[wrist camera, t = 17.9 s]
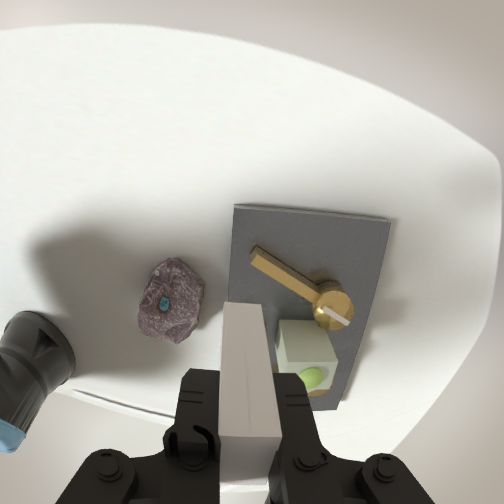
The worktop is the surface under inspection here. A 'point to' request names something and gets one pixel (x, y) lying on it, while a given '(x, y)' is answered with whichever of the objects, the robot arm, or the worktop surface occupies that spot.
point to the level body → (306, 353)
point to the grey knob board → (309, 273)
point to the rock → (171, 302)
